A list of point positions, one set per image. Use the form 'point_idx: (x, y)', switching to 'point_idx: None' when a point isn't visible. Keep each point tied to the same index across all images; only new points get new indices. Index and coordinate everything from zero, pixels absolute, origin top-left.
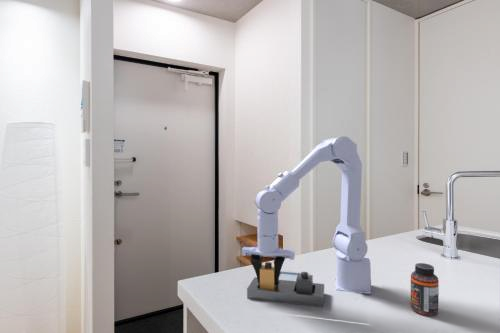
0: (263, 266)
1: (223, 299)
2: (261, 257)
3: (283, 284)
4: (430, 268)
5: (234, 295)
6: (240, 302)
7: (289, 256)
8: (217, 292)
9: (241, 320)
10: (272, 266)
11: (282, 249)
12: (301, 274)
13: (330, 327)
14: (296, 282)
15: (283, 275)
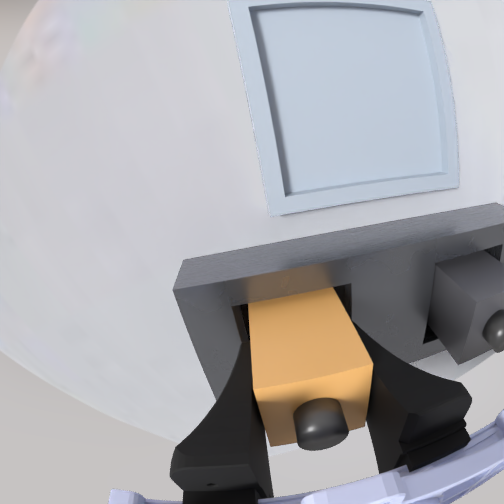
0: (275, 414)
1: (142, 388)
2: (257, 466)
3: (378, 307)
4: None
5: (152, 358)
6: (208, 388)
7: (490, 441)
8: (85, 355)
9: (266, 440)
10: (342, 388)
11: (476, 471)
12: (491, 345)
13: (471, 367)
14: (452, 356)
15: (287, 36)
